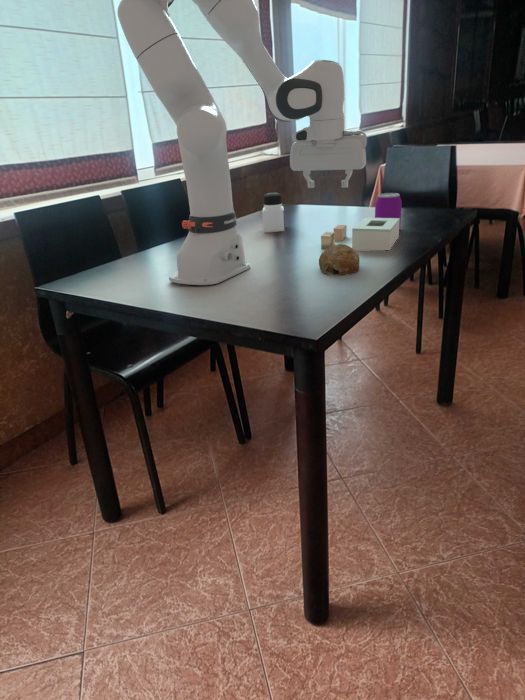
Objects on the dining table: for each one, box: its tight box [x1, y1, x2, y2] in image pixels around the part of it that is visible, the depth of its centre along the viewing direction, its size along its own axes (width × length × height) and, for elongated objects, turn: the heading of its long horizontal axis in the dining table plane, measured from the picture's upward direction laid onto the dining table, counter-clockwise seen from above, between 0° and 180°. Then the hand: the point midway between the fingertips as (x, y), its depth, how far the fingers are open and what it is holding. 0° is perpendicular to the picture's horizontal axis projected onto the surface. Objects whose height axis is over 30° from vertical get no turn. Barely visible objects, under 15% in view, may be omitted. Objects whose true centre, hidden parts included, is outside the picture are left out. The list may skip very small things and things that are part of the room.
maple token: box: [320, 231, 336, 250], centre depth 140 cm, size 5×2×4 cm, turn 156°
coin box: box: [351, 217, 400, 252], centre depth 137 cm, size 14×10×7 cm
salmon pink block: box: [333, 224, 347, 242], centre depth 147 cm, size 5×2×4 cm, turn 156°
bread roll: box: [318, 243, 360, 276], centre depth 119 cm, size 10×10×8 cm
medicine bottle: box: [261, 192, 286, 234], centre depth 166 cm, size 7×7×12 cm
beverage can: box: [374, 192, 403, 231], centre depth 149 cm, size 8×8×12 cm
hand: (327, 187), depth 133 cm, fingers open, 8 cm apart
